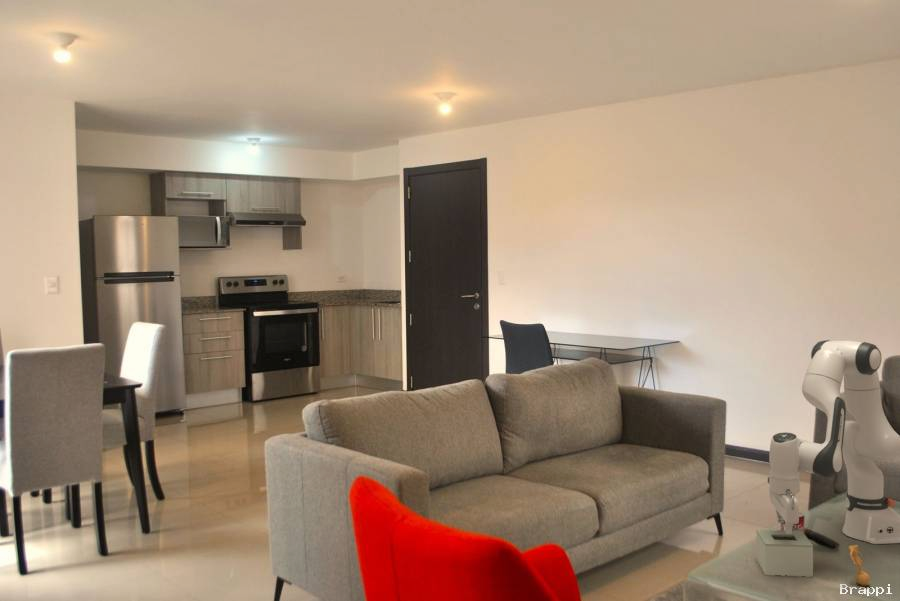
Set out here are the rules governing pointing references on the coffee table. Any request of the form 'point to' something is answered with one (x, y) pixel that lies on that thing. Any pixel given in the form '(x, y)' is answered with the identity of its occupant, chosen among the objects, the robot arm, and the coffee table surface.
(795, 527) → the soda can
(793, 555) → the coin box
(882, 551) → the coffee table surface
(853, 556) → the figurine
